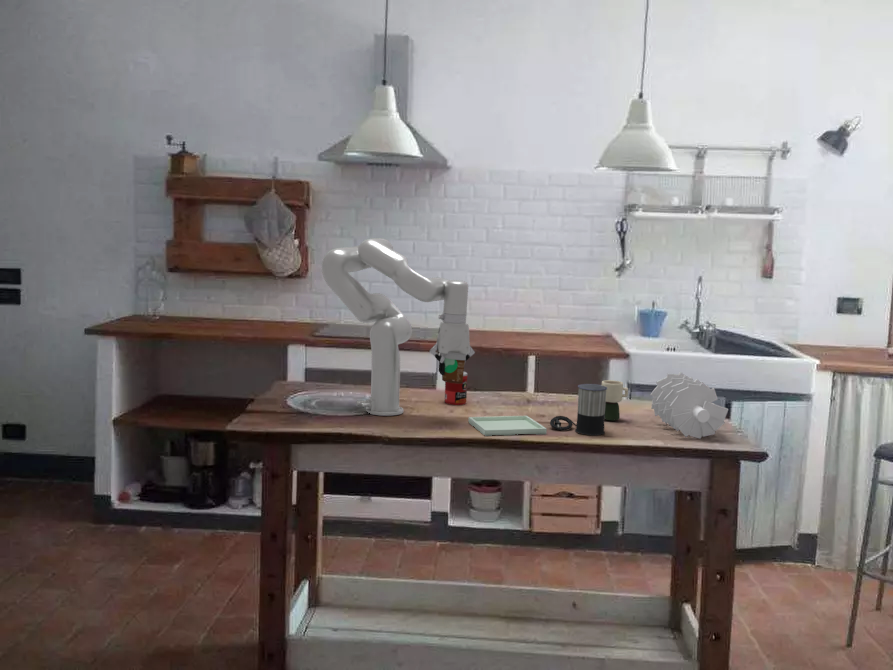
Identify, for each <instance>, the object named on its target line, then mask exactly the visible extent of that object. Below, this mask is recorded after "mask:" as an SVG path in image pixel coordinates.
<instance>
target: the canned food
mask: <svg viewBox="0 0 893 670" xmlns="http://www.w3.org/2000/svg"><path fill="white" fill-rule="evenodd" d="M444 382H445V381H444ZM467 391H468V372H466V371H464V373H463V382H462V384H457V383H449V382H445V384H444V402H445V404H447V405H452V406H463V404H464V405H466V404H467V398H468V396H467V394H468V393H467Z"/></svg>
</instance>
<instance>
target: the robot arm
mask: <svg viewBox="0 0 893 670" xmlns="http://www.w3.org/2000/svg"><path fill="white" fill-rule="evenodd" d="M321 262H322V263H321V273H322V277H323V279H324V282H325V283H326V285H327V286H328V287H329V288H330V290H331V291H332V292H333V293H334V294H335V295H336V296H337V297H338V298H339V299H340V301H341V302H342V303H343V304H344V306H345V307H346V308H347V309H348V310H349V311H350V312H351V313H352V315H353V316H354V317H355V318H356V319H357V320H358V321H359V322H361V323H364V324H369V323H373V324H372V326H371V328H370V330H369V341H370V349H371V376H370V377H371V378H370V379H371V380H370V381H371V382H370V384H371V385H370V396H369V397H368V399H365V400H356V407H362V408H365V412H366V411H367V412H368V413H367V412H366V413H367V414H369V413H370V415H374V416H384V417H386V416H387V417H390V416H398V415H402V414H404V411H405V410H404V408H403V407H402V406H400V392H401V391H400V388H401V387H400V385H401V382H400V381H401V353H400V348H399V345H401V344H403V343H406V342H408V341H409V340H410V338H411V337H412V333H413V328H412V325H411V324H412V323H411V322H410V321H409V319H408V318H407V316H405V314H404V313H403V312H402V311H401V309H399V308H398V306H397V305H395V304H394V302H393V301H392V300H391V299H390V298H389V297H388V296H386V295H384V294H383V293H377V292H375V293H370V292H369V291H368V290H366V289H365V287H364V286H363V285H362V284H361V282H359V281H358V279H356V278H355V277H354V276H352V275H351V274H350V273H355V272H359V271H363V270H366V269H369V268H373V269H375V270H376V271H378V272H380V273H381V274H383V275H384V276H386V277H388V278H389V279H391V280H392V281H393V283H395V285H396V286H397V287H398V288H399V289H401V291H403V292H404V293H406V294H408V295H409V296H411V297H412V298H414V299H416V300H418V301H421V302H422V303H423V302H424V303H431V302H438V301H443V310H442V311H443V312H442V314H439V315H438V320H441V321H440V324H439V327H438V331H437V336H436V337H437V338H436V343H435V344H434V345H433V347H431V348H430V350H429V353H430V354H431V355H432V356H433V357H434V358H435V359H436V361H438V372H439V374H440V375H441V376H442V375H444V372H445V363H444V359H445V358H444V357H443V355H444V354H445V355H446V354H448V352H452V353H463V354H465V356H466V360H465V363H466V362H467V360H469V359H470V358H471V357H473V355H475V353H476V351H475V350H474V349H473V347H472V346H471V344H470V343H471V341H470V326H469V323H467V311H468V298H469V294H468V293H469V284H468V282H466V281H465V280H460V279H459V280H457V279H447V278H444V277H438V276H437V277H430V278H427V277H425V276H424V275H421V274H420V273H418V272H416V271H415V270H413V269H412V267H410V266H409V261H408V258H407V257H406V256H405V255H403V254H401V253H399V252H397V250H396V251H395V249H394V246H393V244H392V243H391V242H390V241H389V240H388V239H386V238H379V237H378V238H377V237H376V238H375V237H374V238H367V239H365V240H364V239H363V241H362V242H360V243H359V245H356V246H347V247H336V248H332V249H330V250H329V251H327V252H326V253H325V254H324V257H323V258H322V261H321ZM437 352H438V353H439V354H438V353H437ZM441 354H442V356H440V355H441Z"/></svg>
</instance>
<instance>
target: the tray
mask: <svg viewBox="0 0 893 670" xmlns="http://www.w3.org/2000/svg"><path fill="white" fill-rule="evenodd" d="M468 422H469V423H468V424H470V425H471V426H472V427H473V426H474V427H475V428H474V427H473V428H474V429H476V430H477V431H478V432H479V431H480V432H479V433H481V434H482V435H483V436H484V435H485V436H484V437H493V436H492V435H504V436H519V435H518V434H536V435H547V427H545V426H544V425H543V424H541V423H539V422H538V421H536V420H535V419H533V418H531V417H530V416H528V415H507V416H506V415H499V416H498V415H494V416H468ZM515 434H517V435H515Z"/></svg>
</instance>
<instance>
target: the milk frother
mask: <svg viewBox="0 0 893 670" xmlns="http://www.w3.org/2000/svg"><path fill="white" fill-rule="evenodd" d="M577 388H578V397H577V416H576V417H577V418H576V424H575V422H574V421H573V420H572V419H571V418H569V417H568V416H564V415H556V416H554V417H552V418H551V420H550V422H549V425H550V427H551V428H553V429H555V430H559V431H568V430H570V429H572V428H573V425H574V426H575V430H574V432H576V433H577V432H578V434H580V433H582V434H581V435H584V434H587V435H586V436H601V434H602V435H605V403H606V390H607V387H606V386H602V384H597V383H582V384H578V385H577ZM561 421H564V422H566V423H567V424H568V425H566V426H562V422H561Z"/></svg>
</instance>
